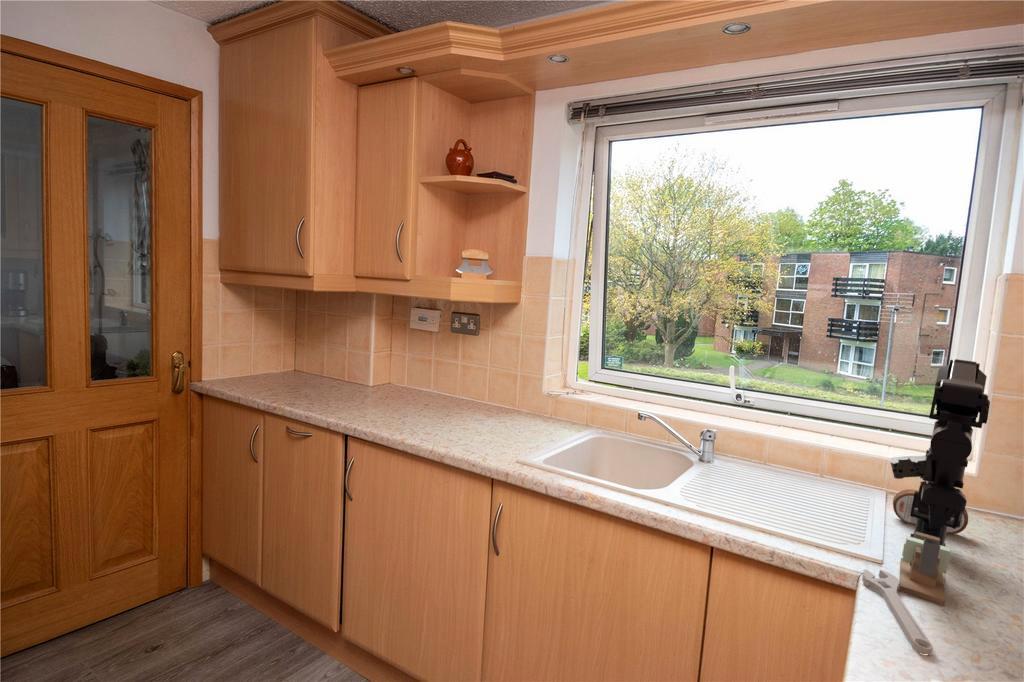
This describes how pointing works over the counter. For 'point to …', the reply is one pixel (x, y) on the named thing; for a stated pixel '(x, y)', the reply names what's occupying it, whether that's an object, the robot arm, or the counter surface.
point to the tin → (904, 505)
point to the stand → (922, 577)
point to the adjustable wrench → (898, 609)
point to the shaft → (929, 557)
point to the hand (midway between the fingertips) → (933, 528)
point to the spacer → (913, 542)
